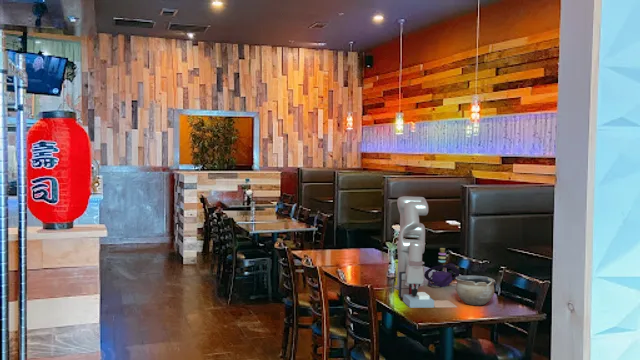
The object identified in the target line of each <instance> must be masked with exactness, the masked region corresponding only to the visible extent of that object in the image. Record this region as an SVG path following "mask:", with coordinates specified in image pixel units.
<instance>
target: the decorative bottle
mask: <svg viewBox="0 0 640 360" xmlns="http://www.w3.org/2000/svg"><path fill="white" fill-rule="evenodd" d="M438 255H439V256H438V260H437V261H438V263H441V264H443V263H444V264H443V265H437V266H436V265H435V266H433V267H430V268H428V269H427V270H426V271H425V272H424V279H426V280H427V284H428V285H429V287H430V286H431V287H434V286H436V287H439V288H445V287H448V285H450V284H451V283H452V282H453V281H455V280H456V277H458V276H460V270H459V269H458V268H457V267H456V265H455V264H454V263H452V262H451V263H450V262H449V263H447V264H446V262H447V260H446V259H447V257H446V255H447V253H446V248H445V247H440V248H439V252H438ZM444 268H445V269H450V270H451V272H449V270H448V271H442V270H441V269H444ZM434 270H435V271H434ZM439 270H441V271H439ZM430 272H432V274H431V275H430V276H429V274H430ZM453 273H454V276H453V275H452V274H453Z"/></svg>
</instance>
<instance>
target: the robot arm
mask: <svg viewBox="0 0 640 360" xmlns="http://www.w3.org/2000/svg"><path fill="white" fill-rule="evenodd" d="M396 204H397V208H398V209H397V210H398V212H399V215H400V218H399V233H398V236H397V237H398V241H397V244H396V248H397V249H396V250H397V278H396V279H397V280H396V284H395V285H394V289H396V290H399V272H406V274H405V281H406V282H405V285H407V286H410V287H411V294H412V295H413V296H416V294H417V289H418V290H419V288H420V287H422V286H424V285H425V283H424V282H425V277H424V274H425V272H424V267H423V265H425V261H423V254H424V253H425V247H426V227H425V225H424V224H423V223H421V222H420V216H427V215H428V213H429V204H428V202H427V199H426V198H425V197H423V196H411V195H410V196H407V195H404V196H399V197H398V198H397V203H396ZM408 238H413V239H408ZM414 238H415V239H414ZM414 284H415V287H414Z"/></svg>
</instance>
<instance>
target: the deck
mask: <svg viewBox="0 0 640 360" xmlns="http://www.w3.org/2000/svg"><path fill="white" fill-rule="evenodd" d="M434 300H435V299H433V298H432V297H431V296H430V297H429V299H418V298H417V297H416V296H413V295H412V294H403V298H402V302H403V303H404V304H405V305H406V306H407V307H409V308H410V309H411V308H414V309H415V308H419V309H420V308H423V309H424V308H425V309H426V308H430V309H431V308H435V307H434Z"/></svg>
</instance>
